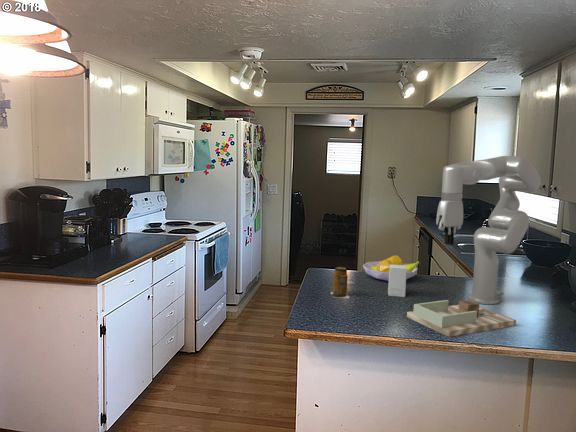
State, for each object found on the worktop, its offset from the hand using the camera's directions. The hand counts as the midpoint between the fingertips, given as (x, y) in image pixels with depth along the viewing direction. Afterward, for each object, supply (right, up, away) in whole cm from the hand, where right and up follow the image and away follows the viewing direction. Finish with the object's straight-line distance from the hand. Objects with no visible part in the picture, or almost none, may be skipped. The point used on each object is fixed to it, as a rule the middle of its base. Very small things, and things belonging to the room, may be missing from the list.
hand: (448, 244), depth 191 cm
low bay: (-6, -26, -13) cm, 30 cm away
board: (+1, -28, -10) cm, 30 cm away
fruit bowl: (-12, -21, +52) cm, 57 cm away
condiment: (-41, -24, +20) cm, 51 cm away
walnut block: (+4, -26, -9) cm, 28 cm away
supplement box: (-15, -24, +24) cm, 37 cm away
